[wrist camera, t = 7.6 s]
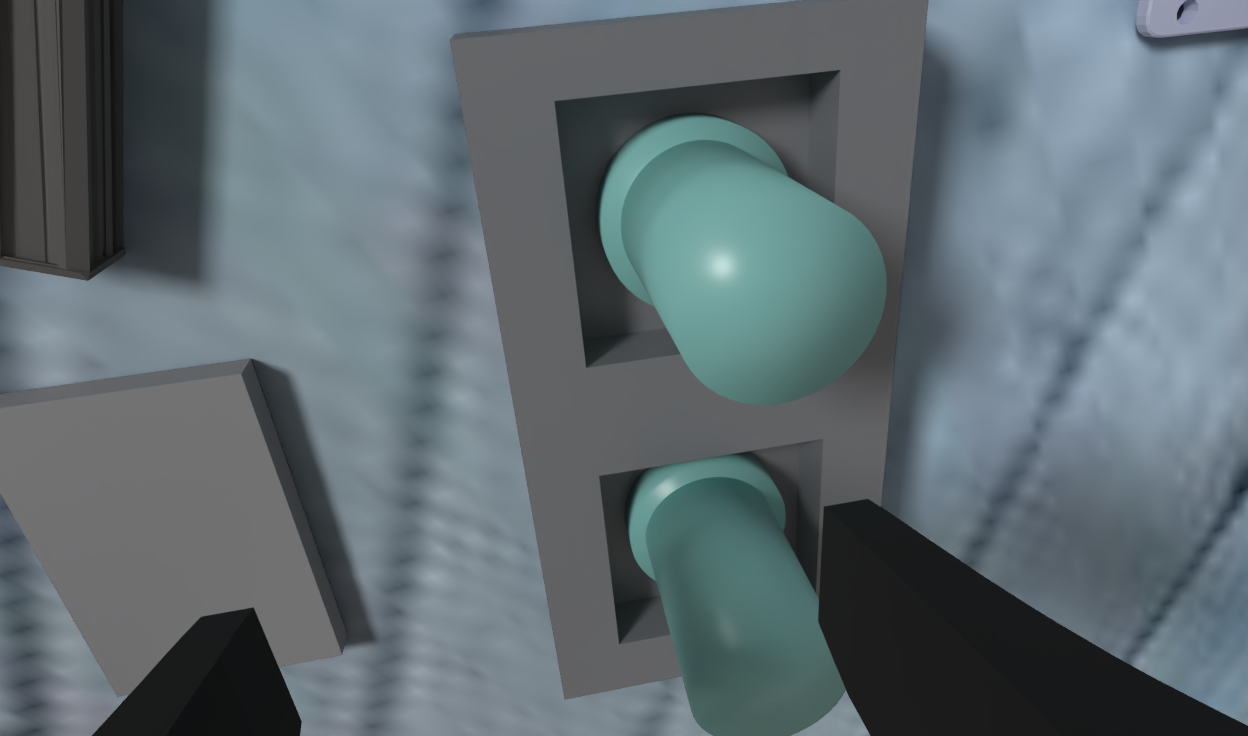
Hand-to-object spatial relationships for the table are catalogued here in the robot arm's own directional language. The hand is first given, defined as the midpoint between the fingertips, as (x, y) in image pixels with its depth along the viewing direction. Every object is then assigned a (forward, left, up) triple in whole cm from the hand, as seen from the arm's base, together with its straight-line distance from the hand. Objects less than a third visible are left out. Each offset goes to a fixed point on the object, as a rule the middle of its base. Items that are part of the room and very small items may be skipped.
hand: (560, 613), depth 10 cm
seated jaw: (-4, -2, -10) cm, 11 cm away
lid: (+9, +5, -10) cm, 14 cm away
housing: (-4, +2, -10) cm, 11 cm away
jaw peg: (-4, +6, -9) cm, 11 cm away
